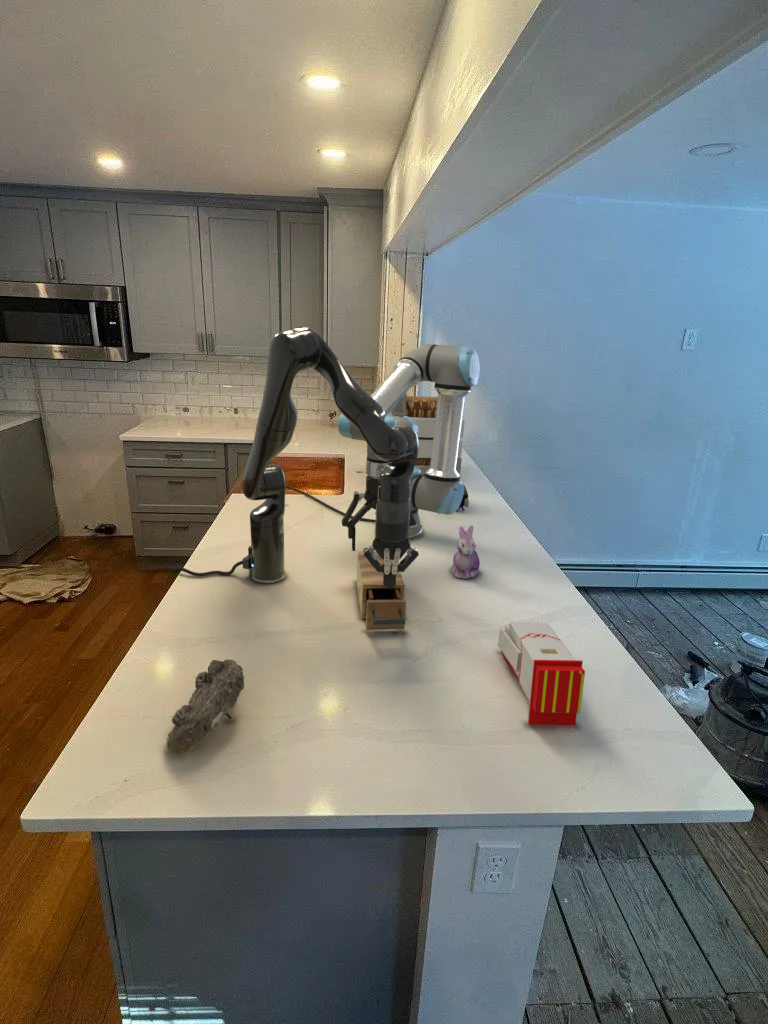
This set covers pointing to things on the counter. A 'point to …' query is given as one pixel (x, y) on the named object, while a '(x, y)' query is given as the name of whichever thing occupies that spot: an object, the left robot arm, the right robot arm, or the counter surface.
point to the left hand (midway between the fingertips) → (389, 587)
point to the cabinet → (372, 579)
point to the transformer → (423, 425)
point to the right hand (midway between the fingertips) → (377, 548)
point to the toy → (544, 672)
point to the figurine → (466, 555)
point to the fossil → (206, 705)
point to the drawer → (384, 609)
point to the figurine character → (464, 500)
